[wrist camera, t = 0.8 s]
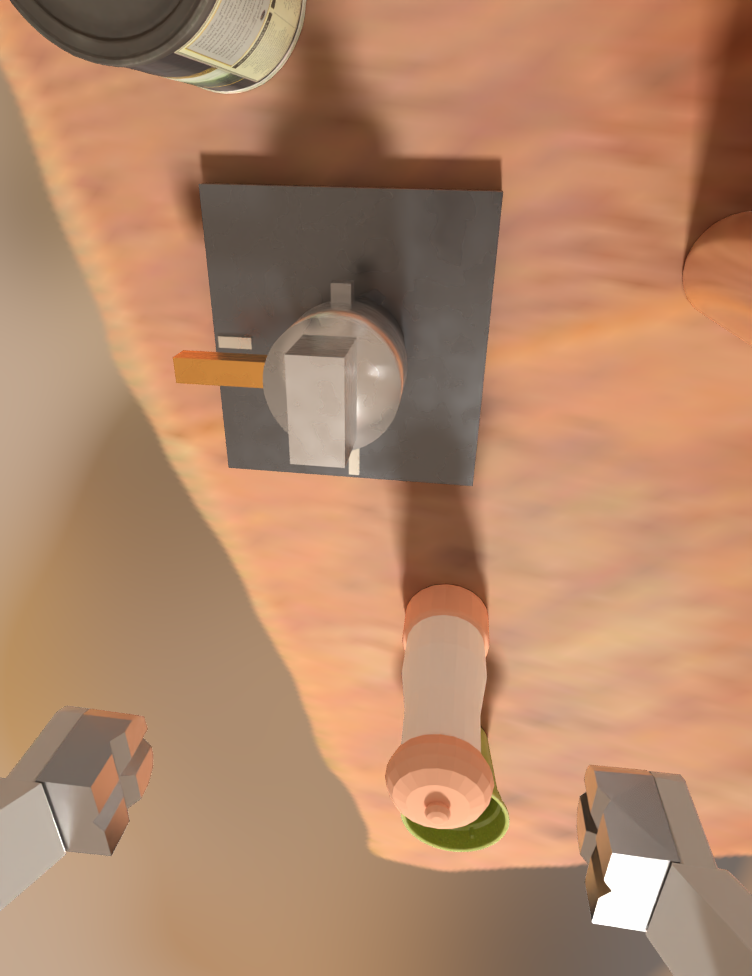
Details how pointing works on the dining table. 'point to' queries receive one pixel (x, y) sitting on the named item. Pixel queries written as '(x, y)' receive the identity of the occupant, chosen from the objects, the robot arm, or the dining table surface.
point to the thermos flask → (723, 274)
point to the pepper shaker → (442, 710)
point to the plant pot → (474, 834)
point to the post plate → (384, 266)
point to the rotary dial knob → (319, 377)
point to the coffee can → (176, 36)
